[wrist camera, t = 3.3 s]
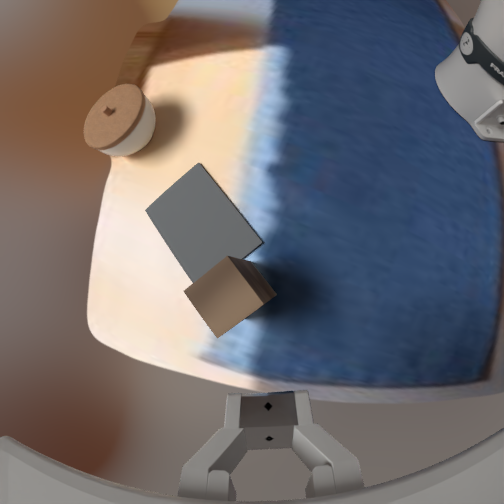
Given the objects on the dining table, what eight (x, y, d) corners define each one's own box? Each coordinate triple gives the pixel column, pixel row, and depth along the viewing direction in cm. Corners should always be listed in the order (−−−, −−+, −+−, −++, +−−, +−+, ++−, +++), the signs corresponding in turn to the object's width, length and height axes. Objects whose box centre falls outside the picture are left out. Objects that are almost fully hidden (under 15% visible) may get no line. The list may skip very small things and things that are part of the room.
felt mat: (262, 242, 34) (262, 242, 34) (200, 292, 35) (199, 292, 34) (199, 163, 36) (198, 162, 36) (146, 210, 37) (145, 210, 37)
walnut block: (277, 294, 33) (263, 304, 22) (244, 318, 34) (217, 338, 23) (251, 261, 34) (227, 255, 23) (220, 286, 35) (183, 291, 24)
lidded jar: (151, 97, 39) (123, 66, 30) (177, 134, 38) (147, 102, 28) (104, 137, 41) (70, 115, 31) (124, 179, 39) (85, 159, 30)
